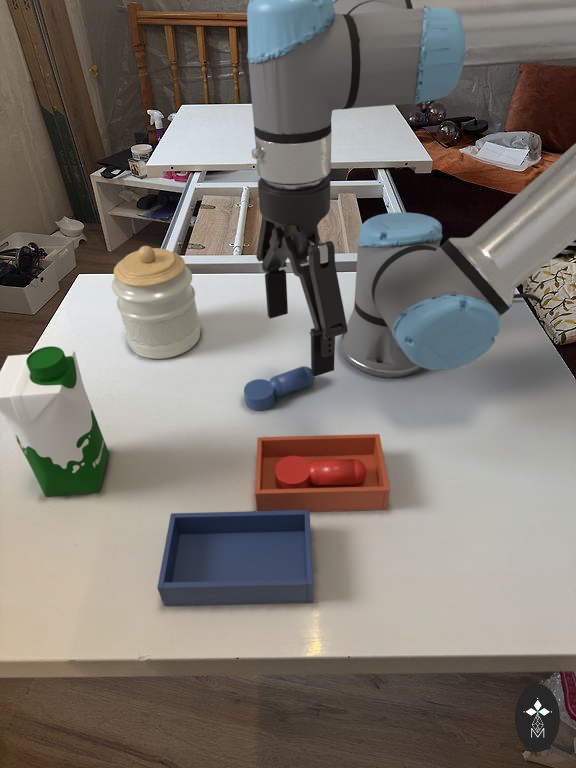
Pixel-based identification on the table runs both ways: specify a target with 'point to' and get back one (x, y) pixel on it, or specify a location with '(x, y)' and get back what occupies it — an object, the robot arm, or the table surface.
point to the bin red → (322, 497)
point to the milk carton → (53, 421)
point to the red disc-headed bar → (317, 472)
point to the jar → (156, 303)
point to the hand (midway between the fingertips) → (298, 341)
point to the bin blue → (237, 558)
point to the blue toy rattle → (275, 387)
